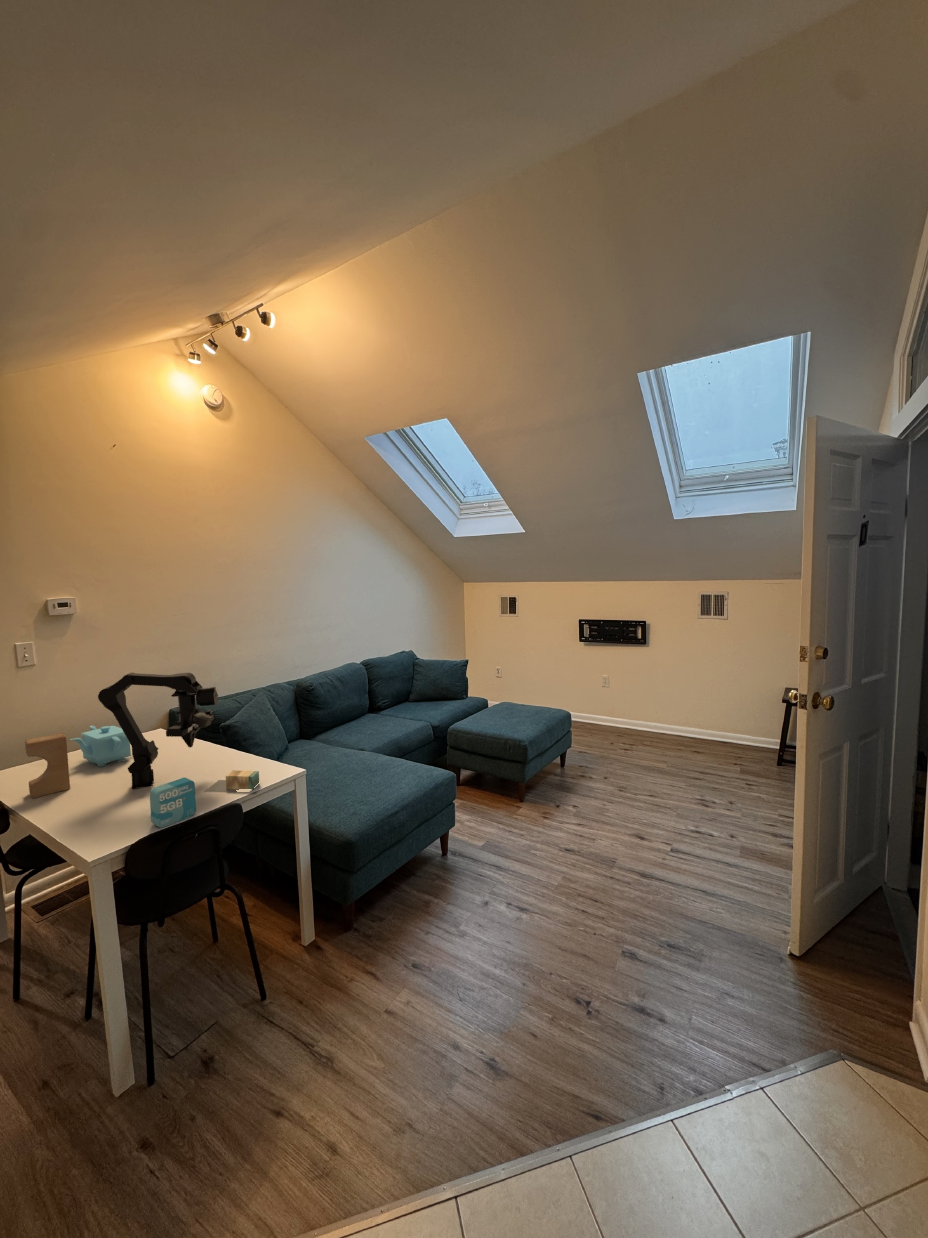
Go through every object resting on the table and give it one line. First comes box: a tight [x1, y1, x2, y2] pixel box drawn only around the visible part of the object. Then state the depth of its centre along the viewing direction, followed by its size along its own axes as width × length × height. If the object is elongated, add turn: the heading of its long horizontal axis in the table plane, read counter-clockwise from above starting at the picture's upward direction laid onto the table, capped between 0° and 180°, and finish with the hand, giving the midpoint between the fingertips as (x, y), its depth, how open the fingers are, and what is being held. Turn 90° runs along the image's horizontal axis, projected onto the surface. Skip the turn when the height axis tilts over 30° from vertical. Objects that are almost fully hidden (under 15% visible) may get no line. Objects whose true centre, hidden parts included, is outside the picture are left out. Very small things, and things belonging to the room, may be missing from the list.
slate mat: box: [203, 779, 239, 794], centre depth 188 cm, size 17×10×1 cm, turn 86°
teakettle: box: [69, 723, 138, 768], centre depth 213 cm, size 19×19×15 cm
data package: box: [149, 777, 197, 829], centre depth 164 cm, size 12×4×12 cm, turn 146°
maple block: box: [225, 769, 260, 789], centre depth 188 cm, size 5×5×10 cm
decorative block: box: [24, 732, 71, 799], centre depth 184 cm, size 11×6×20 cm, turn 134°
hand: (190, 747), depth 193 cm, fingers closed
